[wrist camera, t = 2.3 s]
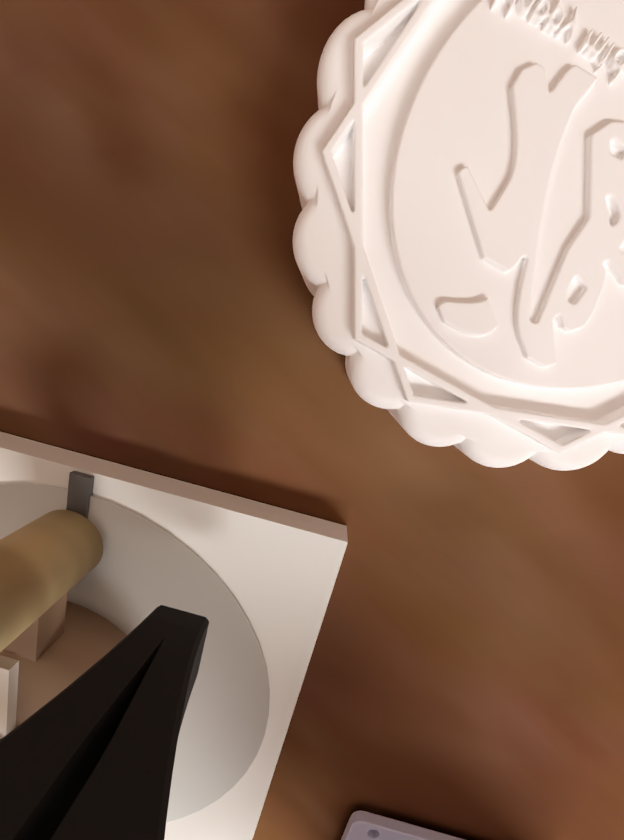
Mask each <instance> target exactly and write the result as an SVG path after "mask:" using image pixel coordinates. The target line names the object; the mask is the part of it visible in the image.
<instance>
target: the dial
mask: <svg viewBox="0 0 624 840" xmlns="http://www.w3.org/2000/svg"><path fill="white" fill-rule="evenodd" d="M102 555H103V542H102V538H101V535H100V533H99V532H98V530H97V528H96V527H95V526H94V525H93V523H92V522H90V521H89V520H88V519H87V518H86V517H84V516H82V515H81V514H79V513H76V512H74V511H70V510H54V511H51V512H48V513H46V514H45V515H43V516H41V517H39V518H38V519H36V520H34V521H32V522H30V523H29V524H27V525H25V526H23V527H22V528H20V529H18V530H16V531H15V532H13V533H11V534H9V535H7V536H6V537H4V538H2V539H0V739H2V738H3V737H4V736H6V735H7V734H8V733H10V732H11V731H12V730H14V729H15V728H16V727H17V726H19V725H20V724H21V723H23V722H24V721H25V720H26V719H28V718H29V717H30V716H31V715H33V714H34V713H35V712H37V711H38V710H39V709H40V708H42V707H43V706H44V705H45V704H47V703H48V702H49V701H50V700H52V699H53V698H54V697H55V696H57V695H58V694H59V693H60V692H62V691H63V690H64V689H65V688H67V687H68V686H69V685H70V684H72V683H73V682H74V681H75V680H76V679H78V678H79V677H80V676H81V675H82V674H83V673H85V672H86V671H87V670H88V669H89V668H90V667H92V666H93V665H94V664H95V663H96V662H97V661H99V660H100V659H101V658H102V657H103V656H105V655H106V654H107V653H108V652H109V651H110V650H111V649H113V648H114V647H115V646H116V645H117V644H118V643H119V642H120V641H121V640H123V639H124V638H125V637H126V636H127V635H126V634H125V633H123V632H122V631H121V630H120V629H119V628H118V627H117V626H115V625H114V624H112V623H111V622H110V621H108V620H107V619H106V618H104V617H102V616H100V615H99V614H97V613H95V612H94V611H91V610H89V609H87V608H85V607H83V606H80V605H78V604H75V603H72V602H69V601H67V592H68V591H69V590H70V589H71V588H72V587H73V586H75V585H76V584H77V583H78V582H79V581H80V580H81V579H82V578H83V577H84V576H86V575H87V574H88V573H89V572H90V571H91V570H92V569H93V568H94V567H96V566H97V565H98V563H99V562H100V560H101V558H102Z"/></svg>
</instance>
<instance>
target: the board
mask: <svg viewBox="0 0 624 840" xmlns="http://www.w3.org/2000/svg"><path fill="white" fill-rule="evenodd" d="M54 510H70V511H74V512H76V513H79V514H81V515H82V516H84V517H86V518H87V519H88V520H89V521H90V522H92V523H93V525H94V526H95V527H96V528H97V530H98V532H99V533H100V535H101V538H102V542H103V555H102V558H101V560H100V562H99V563H98V565H97V566H96V567H94V568H93V569H92V570H91V571H90V572H89V573H88V574H87V575H86V576H84V577H83V578H82V579H81V580H80V581H79V582H78V583H77V584H76V585H75V586H73V587H72V588H71V589H70V590H69V591H68V592H67V601H69V602H72V603H75V604H78V605H80V606H83V607H85V608H87V609H89V610H91V611H94V612H95V613H97V614H99V615H100V616H102V617H104V618H106V619H107V620H108V621H110V622H111V623H112V624H114V625H115V626H117V627H118V628H119V629H120V630H121V631H122V632H123V633H125V634H126V635H128V634H129V633H130V632H131V631H132V630H134V629H135V628H136V627H137V626H138V625H139V624H140V623H141V622H142V621H143V620H144V619H145V618H146V617H147V616H148V615H149V614H150V613H152V612H153V611H154V610H155V609H156V608H157V607H158V606H160V605H164V606H168V607H171V608H175V609H179V610H182V611H186V612H190V613H193V614H197V615H200V616H204V617H206V618H207V619H208V621H209V625H208V630H207V634H206V639H205V643H204V648H203V653H202V657H201V662H200V666H199V671H198V675H197V678H196V680H195V683H194V686H193V689H192V692H191V695H190V698H189V701H188V704H187V708H186V711H185V714H184V718H183V721H182V725H181V728H180V732H179V736H178V741H177V747H176V754H175V760H174V767H173V774H172V781H171V788H170V795H169V803H168V811H167V819H166V828H165V837H164V840H252V839H253V836H254V833H255V829H256V826H257V823H258V820H259V817H260V814H261V811H262V808H263V805H264V801H265V798H266V795H267V792H268V789H269V786H270V783H271V780H272V777H273V773H274V770H275V767H276V764H277V761H278V758H279V755H280V752H281V749H282V745H283V742H284V739H285V736H286V733H287V730H288V727H289V724H290V721H291V717H292V714H293V711H294V708H295V705H296V702H297V699H298V696H299V693H300V689H301V686H302V683H303V680H304V677H305V674H306V671H307V668H308V665H309V661H310V658H311V655H312V652H313V649H314V646H315V643H316V640H317V637H318V633H319V630H320V627H321V624H322V621H323V618H324V615H325V612H326V609H327V605H328V602H329V599H330V596H331V593H332V590H333V587H334V584H335V581H336V577H337V574H338V571H339V568H340V565H341V562H342V559H343V556H344V553H345V549H346V546H347V543H348V538H347V526H346V525H342V524H338V523H335V522H331V521H327V520H324V519H320V518H316V517H313V516H309V515H305V514H302V513H298V512H294V511H290V510H287V509H283V508H279V507H276V506H272V505H268V504H265V503H261V502H257V501H254V500H250V499H246V498H243V497H239V496H235V495H232V494H228V493H224V492H221V491H217V490H213V489H210V488H206V487H202V486H199V485H195V484H191V483H188V482H184V481H180V480H177V479H173V478H169V477H166V476H162V475H158V474H155V473H151V472H147V471H144V470H140V469H136V468H133V467H129V466H125V465H122V464H118V463H114V462H110V461H107V460H103V459H99V458H96V457H92V456H88V455H85V454H81V453H77V452H74V451H70V450H66V449H63V448H59V447H55V446H52V445H48V444H44V443H41V442H37V441H33V440H30V439H26V438H22V437H19V436H15V435H11V434H8V433H4V432H0V539H2V538H4V537H6V536H7V535H9V534H11V533H13V532H15V531H16V530H18V529H20V528H22V527H23V526H25V525H27V524H29V523H30V522H32V521H34V520H36V519H38V518H39V517H41V516H43V515H45V514H46V513H48V512H51V511H54Z"/></svg>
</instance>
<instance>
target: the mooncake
mask: <svg viewBox="0 0 624 840" xmlns="http://www.w3.org/2000/svg"><path fill="white" fill-rule="evenodd" d="M317 96H318V111H317V112H316V113H315V114H314V115H312V116H311V118H310V119H309V120H308V121H307V122H306V124H305V125H304V127H303V128H302V130H301V132H300V134H299V137H298V139H297V142H296V145H295V150H294V156H293V170H294V177H295V182H296V186H297V190H298V195H299V199H300V203H301V207H302V211H301V213H300V214H299V216H298V219H297V221H296V223H295V227H294V231H293V240H292V243H293V253H294V257H295V260H296V263H297V265H298V268H299V270H300V272H301V275H302V277H303V279H304V281H305V284H306V286H307V288H308V289H309V291H310V293H311V294H312V295H313V296H314V299H313V305H312V318H313V323H314V326H315V329H316V332H317V334H318V335H319V337H320V339H321V340H322V341H323V342H324V343H325V345H327V346H328V347H329V348H330V349H332V350H333V351H335V352H337V353H339V354H342V355H345V356H346V358H345V368H346V373H347V376H348V378H349V380H350V382H351V384H352V386H353V388H354V390H355V391H356V392H357V394H358V395H359V396H360V397H361V398H362V399H363V400H364V401H366V402H368V403H369V404H371V405H373V406H376V407H379V408H383V409H387V410H388V411H389V413H390V414H391V415H392V416H393V417H394V419H395V420H396V421H397V422H398V423H399V424H400V425H401V427H402V428H403V429H404V430H405V431H406V432H407V433H408V434H409V435H410V436H411V437H412V438H414V439H415V440H417V441H418V442H420V443H423V444H425V445H429V446H436V447H443V446H450V445H454V446H455V447H456V448H458V449H459V450H460V451H461V452H463V453H464V454H465V455H466V456H468V457H469V458H470V459H472V460H473V461H475V462H477V463H479V464H481V465H484V466H488V467H495V468H502V467H509V466H514V465H516V464H519V463H521V462H523V461H525V460H527V459H530V460H532V461H534V462H535V463H537V464H539V465H541V466H543V467H546V468H549V469H553V470H560V471H566V470H575V469H580V468H583V467H586V466H588V465H590V464H592V463H594V462H595V461H597V460H598V459H600V458H601V457H602V456H603V455H604V454H605V453H606V452H607V451H608V450H609V451H612V452H615V453H620V454H624V0H365V5H364V10H362V11H359V12H357V13H355V14H352V15H351V16H349V17H348V18H347V19H345V20H344V21H343V22H342V23H341V24H340V25H339V26H338V27H337V28H336V29H335V30H334V32H333V33H332V34H331V36H330V37H329V39H328V41H327V43H326V45H325V47H324V49H323V52H322V55H321V58H320V61H319V66H318V72H317Z"/></svg>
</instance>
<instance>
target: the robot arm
mask: <svg viewBox="0 0 624 840" xmlns="http://www.w3.org/2000/svg"><path fill="white" fill-rule="evenodd" d="M208 625H209V621H208V619H207V618H206V617H204V616H200V615H197V614H193V613H190V612H186V611H182V610H179V609H175V608H171V607H168V606H164V605H160V606H158V607H157V608H156V609H155V610H154V611H153V612H152V613H150V614H149V615H148V616H147V617H146V618H145V619H144V620H143V621H142V622H141V623H140V624H139V625H138V626H137V627H136V628H135V629H134V630H132V631H131V632H130V633H129V634H128V635H127V636H126V637H125V638H124V639H123V640H121V641H120V642H119V643H118V644H117V645H116V646H115V647H114V648H113V649H111V650H110V651H109V652H108V653H107V654H106V655H105V656H103V657H102V658H101V659H100V660H99V661H97V662H96V663H95V664H94V665H93V666H92V667H90V668H89V669H88V670H87V671H86V672H85V673H83V674H82V675H81V676H80V677H79V678H78V679H76V680H75V681H74V682H73V683H72V684H70V685H69V686H68V687H67V688H65V689H64V690H63V691H62V692H60V693H59V694H58V695H57V696H55V697H54V698H53V699H52V700H50V701H49V702H48V703H47V704H45V705H44V706H43V707H42V708H40V709H39V710H38V711H37V712H35V713H34V714H33V715H31V716H30V717H29V718H28V719H26V720H25V721H24V722H23V723H21V724H20V725H19V726H17V727H16V728H15V729H14V730H12V731H11V732H10V733H8V734H7V735H6V736H4V737H3V738H2V739H0V840H164V837H165V828H166V819H167V811H168V803H169V795H170V788H171V781H172V774H173V767H174V760H175V754H176V747H177V741H178V736H179V732H180V728H181V725H182V721H183V718H184V714H185V711H186V708H187V704H188V701H189V698H190V695H191V692H192V689H193V686H194V683H195V680H196V678H197V675H198V671H199V666H200V662H201V657H202V653H203V648H204V643H205V639H206V634H207V630H208ZM341 840H465V839H462V838H458V837H455V836H451V835H448V834H444V833H441V832H437V831H434V830H430V829H427V828H423V827H420V826H416V825H413V824H409V823H406V822H402V821H399V820H395V819H391V818H388V817H384V816H381V815H377V814H374V813H370V812H367V811H362V810H359V811H355V812H353V814H352V815H351V816H350V819H349V821H348V824H347V826H346V828H345V831H344V833H343V836H342V838H341Z"/></svg>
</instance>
